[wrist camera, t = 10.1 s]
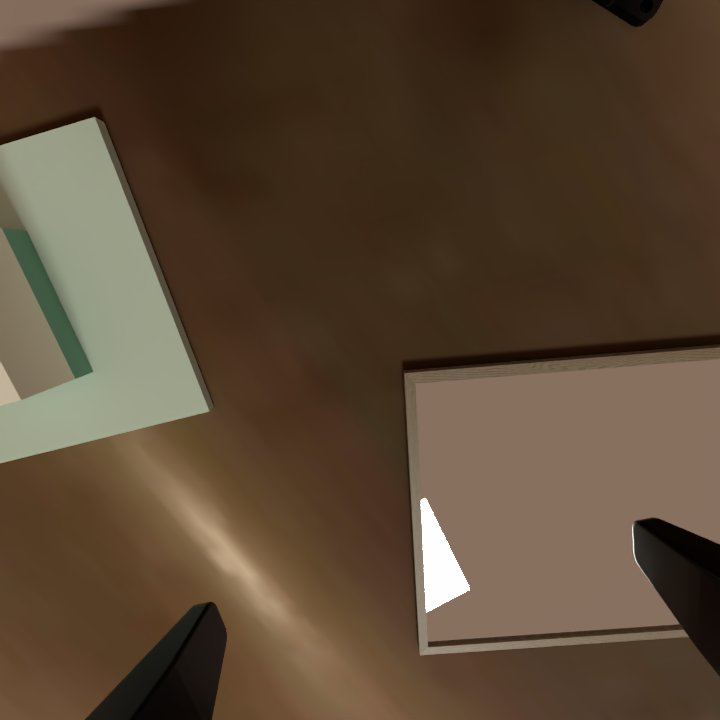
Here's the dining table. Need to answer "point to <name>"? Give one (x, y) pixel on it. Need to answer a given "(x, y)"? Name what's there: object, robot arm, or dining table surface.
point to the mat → (95, 295)
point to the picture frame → (555, 493)
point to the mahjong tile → (32, 325)
